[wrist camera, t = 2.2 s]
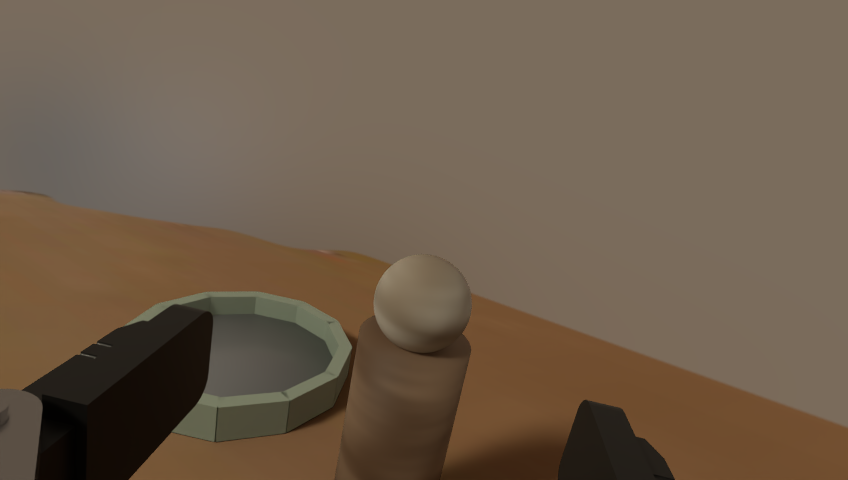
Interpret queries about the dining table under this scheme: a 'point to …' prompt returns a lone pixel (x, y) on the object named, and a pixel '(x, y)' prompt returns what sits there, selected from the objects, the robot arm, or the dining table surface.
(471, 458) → the dining table surface
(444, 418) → the wooden peg figure
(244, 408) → the round tray
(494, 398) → the dining table surface
